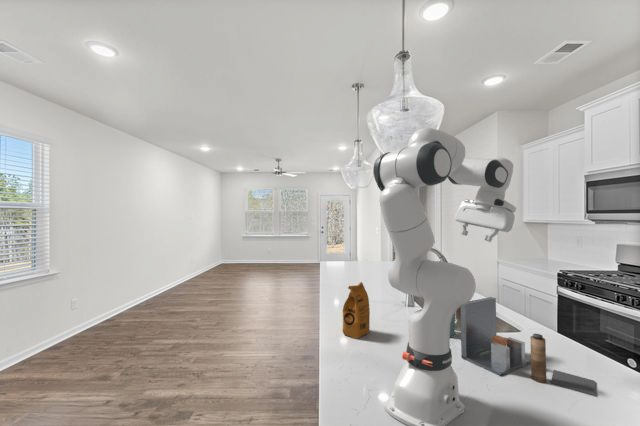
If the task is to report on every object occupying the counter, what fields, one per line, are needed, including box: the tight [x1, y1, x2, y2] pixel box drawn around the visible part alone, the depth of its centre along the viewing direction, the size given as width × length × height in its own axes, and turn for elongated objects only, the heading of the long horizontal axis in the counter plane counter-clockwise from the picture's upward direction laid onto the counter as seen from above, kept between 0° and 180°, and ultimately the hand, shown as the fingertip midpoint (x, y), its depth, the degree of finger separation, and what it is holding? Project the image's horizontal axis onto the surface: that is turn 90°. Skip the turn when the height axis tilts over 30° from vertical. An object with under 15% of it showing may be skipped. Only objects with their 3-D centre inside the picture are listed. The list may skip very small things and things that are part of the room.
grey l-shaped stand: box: [460, 296, 531, 377], centre depth 104 cm, size 18×14×20 cm
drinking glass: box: [450, 312, 456, 338], centre depth 129 cm, size 10×10×12 cm
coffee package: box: [342, 281, 371, 340], centre depth 130 cm, size 10×12×22 cm
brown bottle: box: [530, 333, 547, 384], centre depth 91 cm, size 4×4×14 cm
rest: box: [550, 369, 597, 397], centre depth 89 cm, size 10×10×1 cm
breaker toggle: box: [492, 335, 507, 347], centre depth 103 cm, size 3×3×7 cm
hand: (475, 237), depth 105 cm, fingers open, 8 cm apart
